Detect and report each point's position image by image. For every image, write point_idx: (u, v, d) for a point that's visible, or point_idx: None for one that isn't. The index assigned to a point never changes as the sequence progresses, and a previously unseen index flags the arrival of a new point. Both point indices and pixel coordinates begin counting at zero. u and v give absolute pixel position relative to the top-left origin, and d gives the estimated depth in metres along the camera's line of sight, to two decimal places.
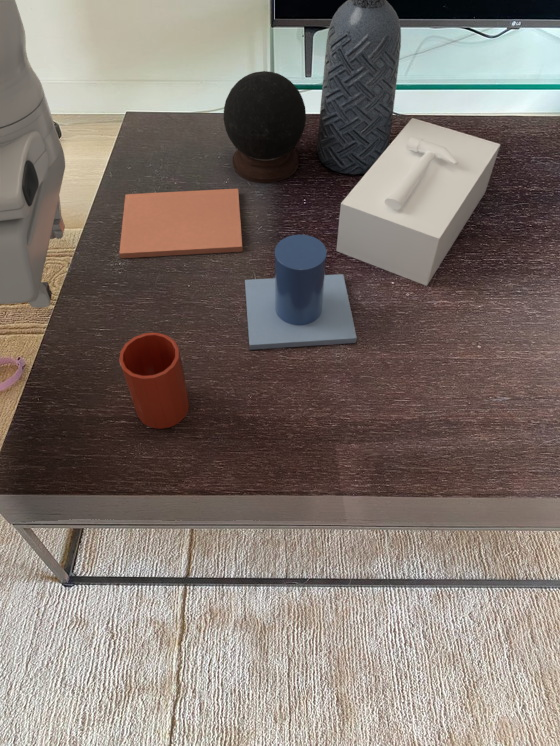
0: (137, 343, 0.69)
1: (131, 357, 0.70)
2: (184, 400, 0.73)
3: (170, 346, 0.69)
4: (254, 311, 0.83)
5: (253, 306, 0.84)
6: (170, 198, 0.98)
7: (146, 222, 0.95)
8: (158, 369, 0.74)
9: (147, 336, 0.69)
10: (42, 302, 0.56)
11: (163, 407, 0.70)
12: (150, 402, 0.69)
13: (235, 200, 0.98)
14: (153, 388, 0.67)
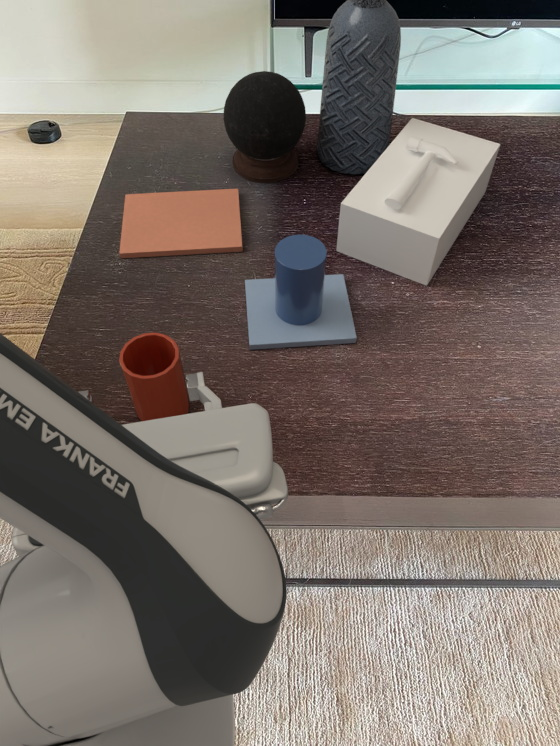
0: (137, 343, 0.69)
1: (131, 357, 0.70)
2: (184, 400, 0.73)
3: (170, 346, 0.69)
4: (254, 311, 0.83)
5: (253, 306, 0.84)
6: (170, 198, 0.98)
7: (146, 222, 0.95)
8: (158, 369, 0.74)
9: (147, 336, 0.69)
10: None
11: (163, 407, 0.70)
12: (150, 402, 0.69)
13: (235, 200, 0.98)
14: (153, 388, 0.67)
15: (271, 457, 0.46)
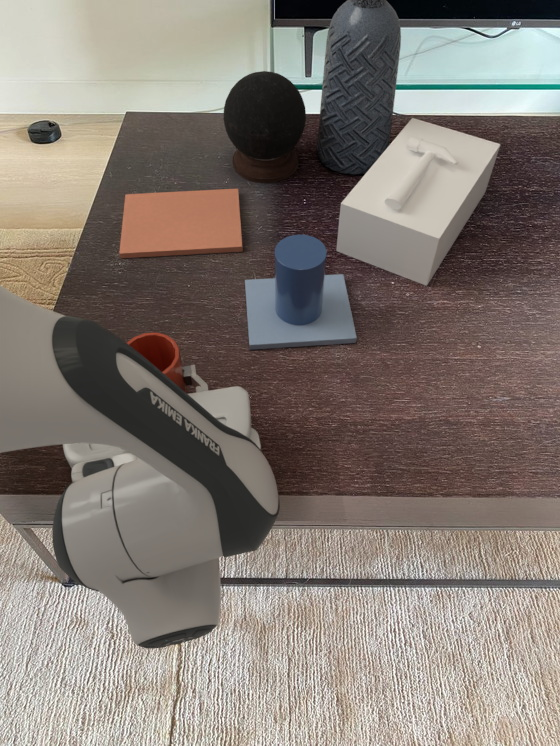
0: (137, 343, 0.69)
1: None
2: None
3: (170, 346, 0.69)
4: (254, 311, 0.83)
5: (253, 306, 0.84)
6: (170, 198, 0.98)
7: (146, 222, 0.95)
8: None
9: (147, 336, 0.69)
10: None
11: None
12: None
13: (235, 200, 0.98)
14: None
15: (249, 424, 0.66)
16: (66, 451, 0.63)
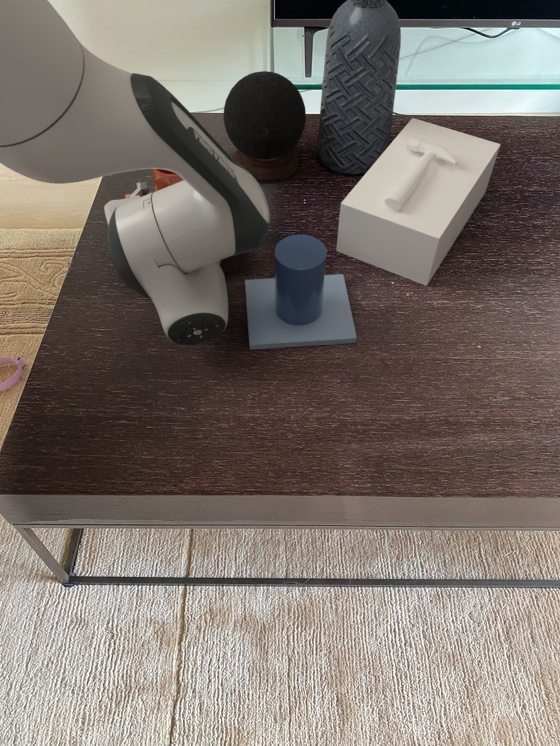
0: None
1: (159, 169, 0.90)
2: None
3: None
4: (254, 311, 0.83)
5: (253, 306, 0.84)
6: None
7: None
8: None
9: None
10: None
11: None
12: None
13: None
14: None
15: None
16: (109, 221, 0.82)
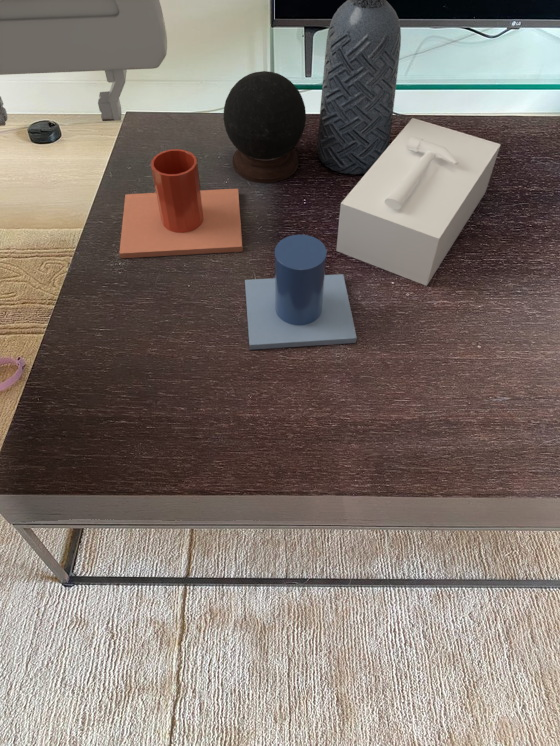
0: (164, 157, 0.89)
1: (159, 169, 0.90)
2: (200, 209, 0.92)
3: (189, 159, 0.89)
4: (254, 311, 0.83)
5: (253, 306, 0.84)
6: None
7: (146, 222, 0.95)
8: None
9: (171, 151, 0.89)
10: None
11: (184, 208, 0.90)
12: (174, 202, 0.89)
13: (235, 200, 0.98)
14: (177, 187, 0.87)
15: None
16: None
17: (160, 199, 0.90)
